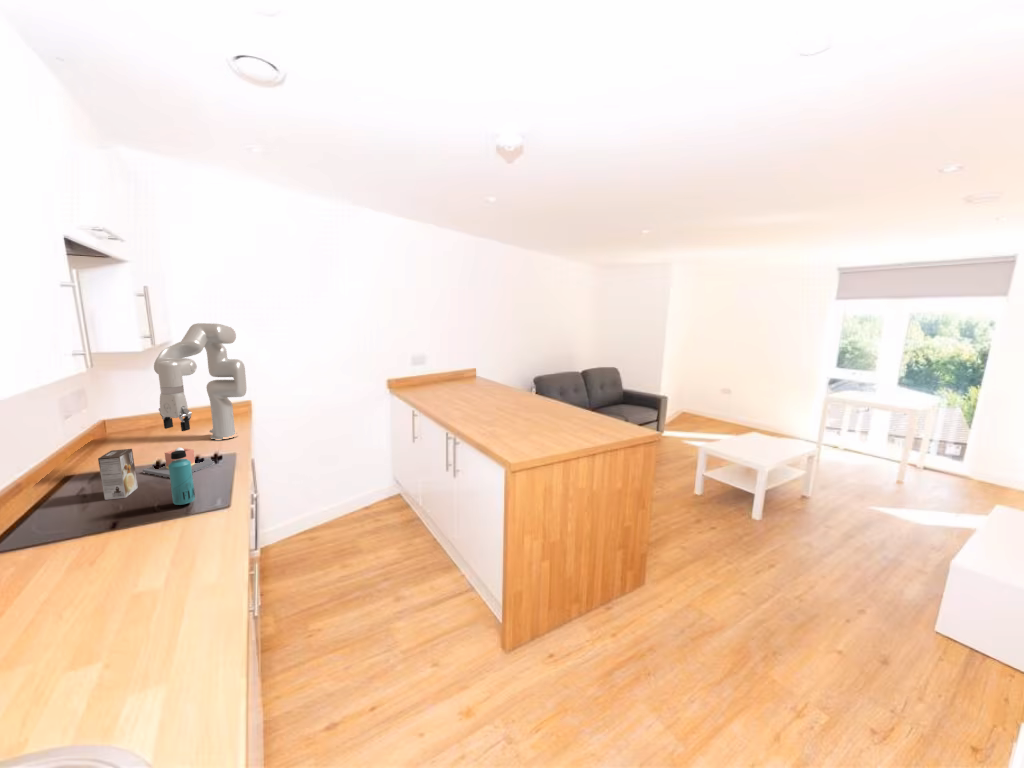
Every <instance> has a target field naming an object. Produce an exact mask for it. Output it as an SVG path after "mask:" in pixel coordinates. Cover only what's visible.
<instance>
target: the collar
mask: <svg viewBox="0 0 1024 768" xmlns="http://www.w3.org/2000/svg"><path fill="white" fill-rule="evenodd" d="M182 448H183V449H184V451H185V452H186V457H184V458H181V459H187V460H189V461H191V464H192V463H195V458H194V457H195V450H194V449H191V448H185V447H182ZM175 450H176V449H173V450H169V451H165V452H164V459H165V463H166V466H168V465H169V464H170V463H171V462H172V461H174V460H178V459H171V453H172V452H174V451H175Z"/></svg>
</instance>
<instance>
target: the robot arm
mask: <svg viewBox="0 0 1024 768" xmlns="http://www.w3.org/2000/svg"><path fill="white" fill-rule="evenodd" d="M236 338H237V333H236V330H234V329H233V328H232V326H228V325H224V324H222V323H221V324H220V323H212V322H211V323H202V322H201V323H200V322H198V323H194V324H192V325H191V326H190V327H189V329H188V330H187V331H186V333H185V334H184V336H183V338H182V339H181V340H180V341H179V342H176V343H175V344H172V345H170V346H167V347H166V348H164V349H163V350H161V352H160V353H159V354H158V356H157V357H156V359H155V361H154V363H153V370H154V372H155V373H156V374H157V376H158V380H159V389H160V395H159V408H158V412H159V414H160V416H161V419H162V420H163V422H162V423H163V428H164V429H165V430H167V429H170V428H173V427H174V422H173V419H179V420H180V421H181V422H180V431H181V432H186V431H190V429H191V426H190V425H191V423H190V422H191V419H192V414H193V413H192V411H191V410H190V409H189V408H188V403H187V402H188V401H187V398H186V395H185V390H184V380H183V377H185V376H186V377H187V376H191V375H193V374H194V373H195V372H196V371H197V367H198V366H197V363H196V362H195V360H193V359H191V358H189V357H192V356H196V355H199V354H200V353H201V352H202V351H203V350H204V349H205V351H206V357H207V359H206V360H207V370H208V372H209V373H208V374H209V375H210V376H211V377H213V378H233V379H213V380H210V381H208V382H207V384H206V387H205V388H206V392H207V394H208V395H207V396H208V398H209V402H210V403H209V404H210V411H211V414H210V415H211V422H212V423H211V424H212V428H211V429H210V430H209V433H212V435H210V437H209V438H212V439H223V437H229V436H232V435H234V434H235V432H236V429H235V428H236V427H235V418H234V407H233V404H232V402H231V400H230V399H229V398H241V397H244V396H246V394H247V377H246V367H245V364H244V362H243V361H242V360H240V359H236V358H234V359H232V358H231V359H230V358H229V359H228V353H227V349H226V347H225V345H226V344H227V345H228V344H233V343H234V342H235V341H236ZM224 344H225V345H224Z"/></svg>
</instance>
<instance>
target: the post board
mask: <svg viewBox="0 0 1024 768" xmlns="http://www.w3.org/2000/svg"><path fill="white" fill-rule="evenodd" d="M183 448H184V447H176V448H175V449H174V450H175V451H179V450H184V449H183ZM195 457H196V456H194V458H195ZM205 459H206V460H205V461H203V462H200V463H192V464H191V467H192V468H191V469H192V472H193V473H195V472H194V471H196V472H198V471H197V470H199V469H201V470H203V469H202V468H204V469H206V468H205V467H207V466H210V465H212V464H213V463H214V461H212V460H213V459H209V458H205ZM164 463H165V466H163V467H161V468H159V469H155V468H154V466H155V465H153V466H151V467H147V468H144V469H142V473H143V472H145V473H149V474H148V475H150V474H155V475H154V476H156V475H159V476H158V477H161V476H163V477H162V478H167V477H169V479H170V474H169V467H168V466H166V462H164ZM212 466H213V465H212ZM210 467H211V466H210ZM207 468H208V467H207ZM199 471H200V470H199ZM145 473H144V474H145Z"/></svg>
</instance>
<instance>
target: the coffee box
mask: <svg viewBox="0 0 1024 768" xmlns="http://www.w3.org/2000/svg"><path fill="white" fill-rule="evenodd" d="M134 459H135V458H134V453H133V448H128V449H127V448H124V449H112V450H110V451H108V452H107V453H105V454H103V455H101V456H100V457H98V458H97V461H98V466H99V467H98V468H99V472H100V478H101V485H102V486H101V487H102V491H103V497H104V500H108V501H109V500H115V499H116V500H117V499H123V498H128V497H129V495H131V494H132V493H134V491H136V490H137V489H138V488H139V487H138V486H139V485H138V480H137V475H136V474H137V473H136V468H135V467H136V466H135V460H134Z"/></svg>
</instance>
